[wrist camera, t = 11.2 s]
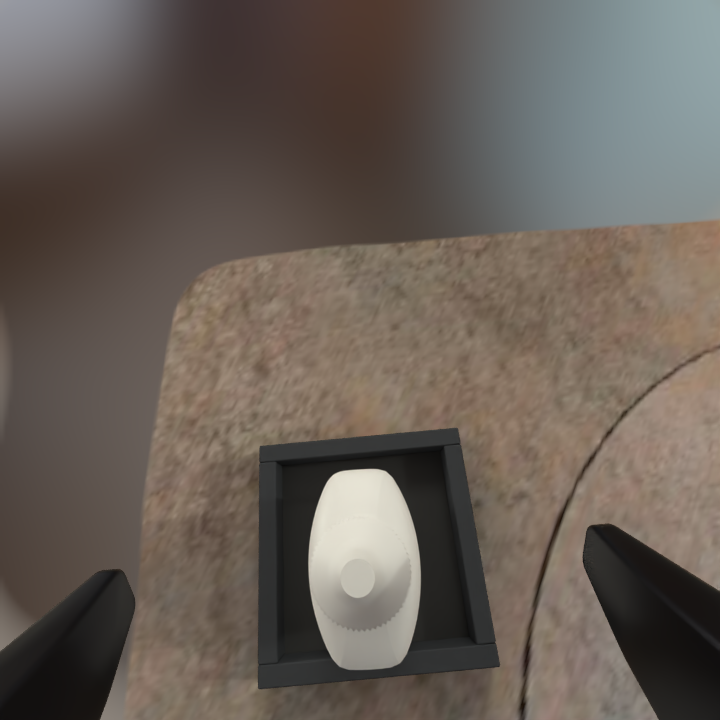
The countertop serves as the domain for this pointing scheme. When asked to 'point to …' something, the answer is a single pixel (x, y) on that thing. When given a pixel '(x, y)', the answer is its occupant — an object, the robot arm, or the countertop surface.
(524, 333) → the countertop surface
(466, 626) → the dock pad
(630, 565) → the robot arm
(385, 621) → the eye dropper bottle
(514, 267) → the countertop surface
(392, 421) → the countertop surface
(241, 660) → the countertop surface
